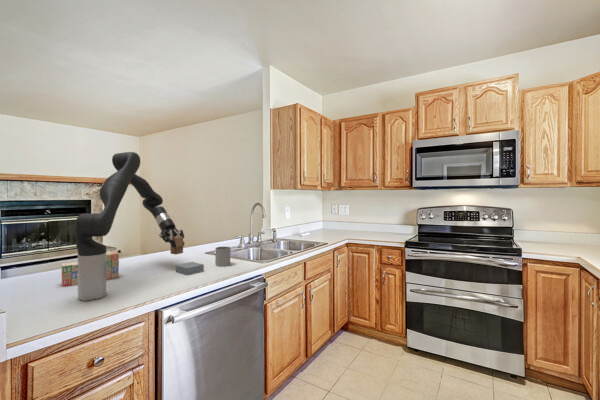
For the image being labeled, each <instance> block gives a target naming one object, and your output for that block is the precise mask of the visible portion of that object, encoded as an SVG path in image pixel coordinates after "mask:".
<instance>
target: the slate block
mask: <svg viewBox="0 0 600 400" xmlns="http://www.w3.org/2000/svg"><path fill="white" fill-rule="evenodd" d="M204 271H205V265H204V264H202V263H199V262H195V261H189V262H185V263H181V264H176V265H175V273H178V274H180V275H185V276H191V275H195V274H199V273H202V272H204Z"/></svg>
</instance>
